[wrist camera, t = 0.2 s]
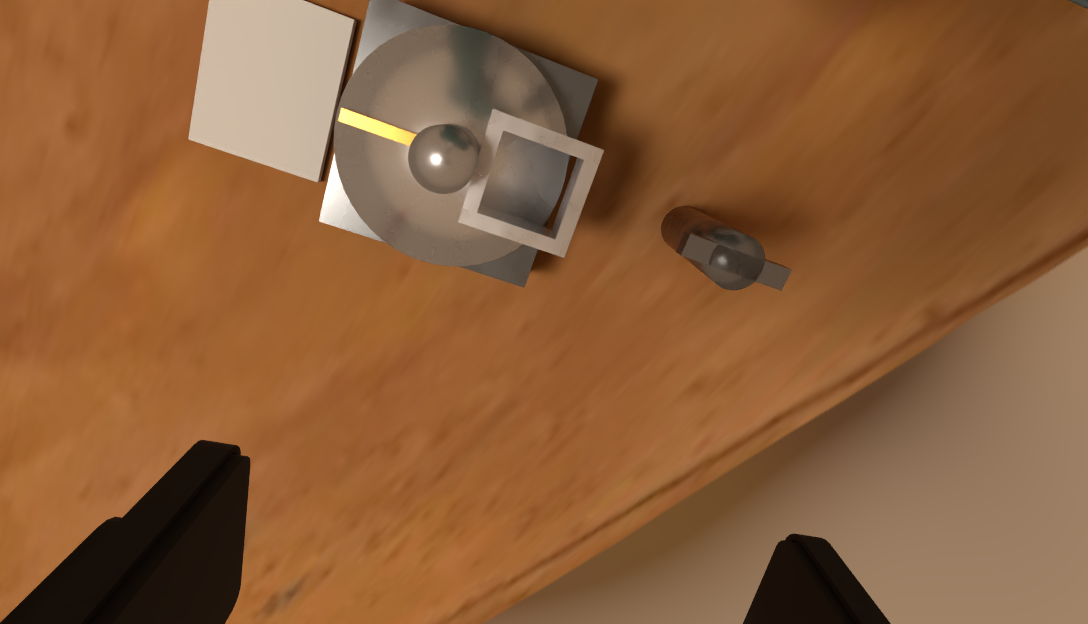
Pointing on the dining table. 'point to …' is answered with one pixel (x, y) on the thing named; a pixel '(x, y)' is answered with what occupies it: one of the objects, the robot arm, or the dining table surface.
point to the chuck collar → (458, 149)
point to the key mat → (271, 82)
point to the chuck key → (720, 250)
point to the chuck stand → (566, 83)
